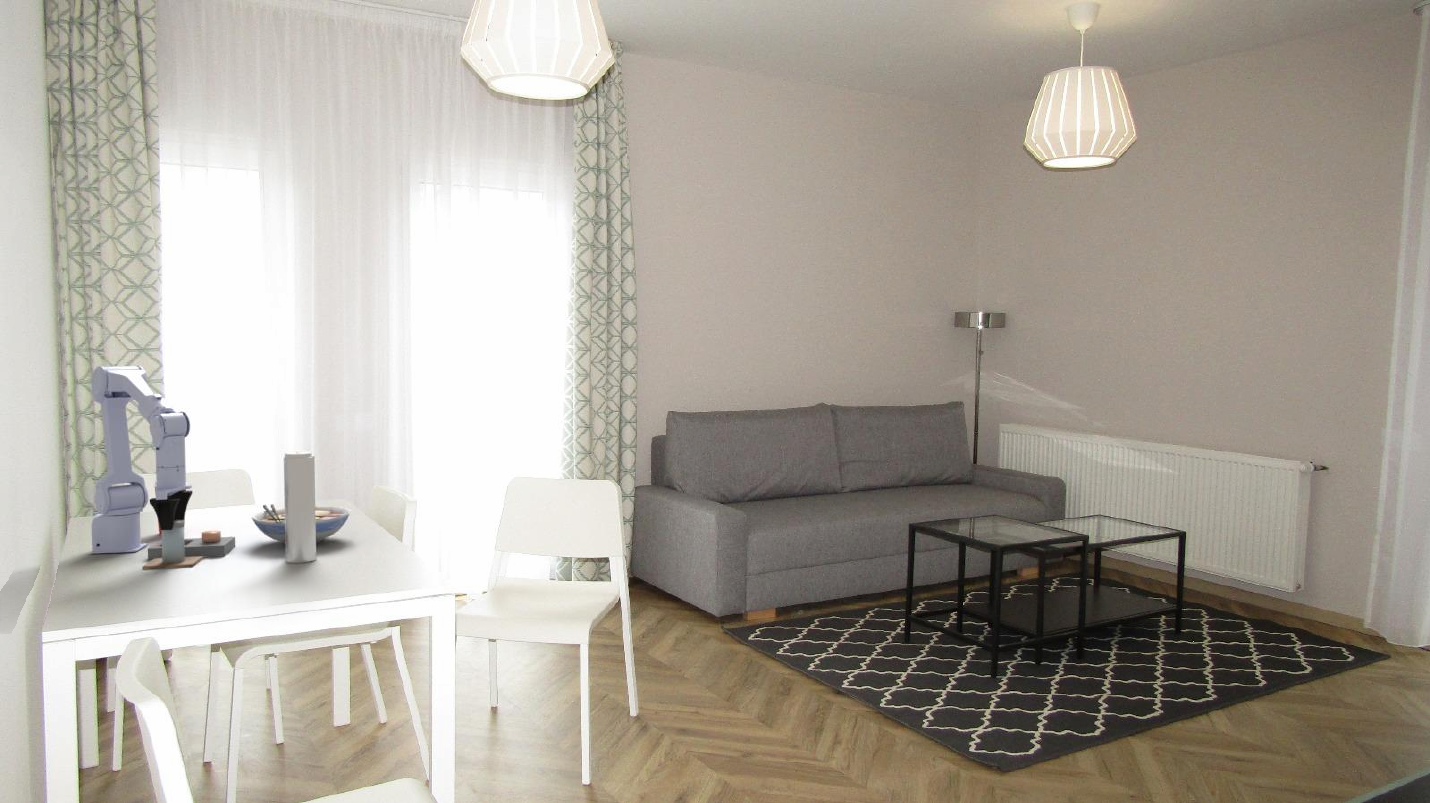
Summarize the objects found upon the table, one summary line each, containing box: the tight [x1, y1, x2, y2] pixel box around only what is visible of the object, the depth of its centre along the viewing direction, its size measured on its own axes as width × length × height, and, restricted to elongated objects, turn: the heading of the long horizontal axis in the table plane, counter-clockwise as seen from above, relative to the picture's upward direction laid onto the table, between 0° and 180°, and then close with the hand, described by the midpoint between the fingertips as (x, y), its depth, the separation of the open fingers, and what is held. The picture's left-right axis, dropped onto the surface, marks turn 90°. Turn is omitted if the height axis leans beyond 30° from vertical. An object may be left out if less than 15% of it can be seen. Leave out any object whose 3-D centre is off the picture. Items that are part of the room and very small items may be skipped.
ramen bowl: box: [251, 504, 352, 544], centre depth 233 cm, size 25×23×8 cm
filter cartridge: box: [161, 520, 186, 564], centre depth 209 cm, size 5×5×9 cm
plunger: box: [201, 530, 222, 542], centre depth 221 cm, size 4×4×2 cm
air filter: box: [283, 451, 317, 564], centre depth 213 cm, size 6×6×25 cm
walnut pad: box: [142, 556, 204, 570], centre depth 210 cm, size 10×8×1 cm
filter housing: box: [147, 536, 236, 560], centre depth 220 cm, size 16×10×2 cm, turn 104°
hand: (172, 526), depth 209 cm, fingers open, 7 cm apart
